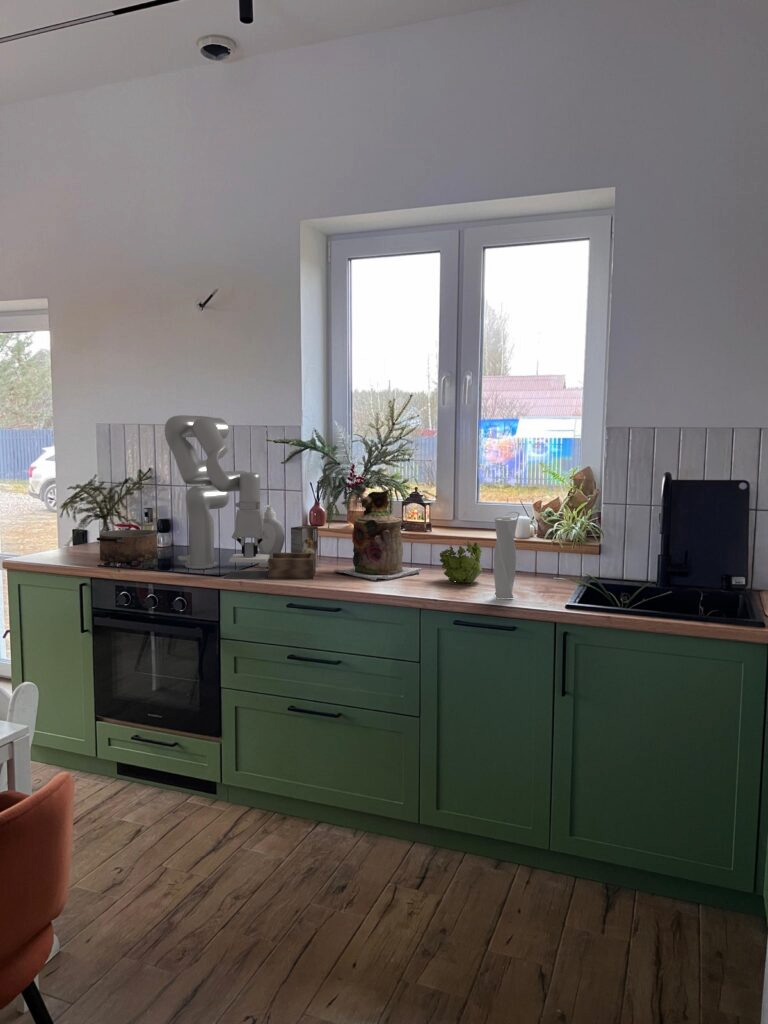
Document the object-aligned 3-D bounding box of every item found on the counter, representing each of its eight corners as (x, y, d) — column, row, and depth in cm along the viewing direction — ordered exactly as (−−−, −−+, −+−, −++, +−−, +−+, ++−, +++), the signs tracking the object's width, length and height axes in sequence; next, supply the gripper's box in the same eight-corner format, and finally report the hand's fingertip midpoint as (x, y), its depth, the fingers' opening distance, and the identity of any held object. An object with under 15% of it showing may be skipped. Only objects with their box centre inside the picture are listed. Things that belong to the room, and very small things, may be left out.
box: (268, 578, 273) (268, 559, 272) (273, 571, 288) (273, 552, 287) (313, 579, 274) (313, 559, 273) (315, 571, 288) (315, 553, 288)
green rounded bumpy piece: (493, 574, 261) (459, 545, 258) (462, 601, 268) (428, 573, 265) (494, 550, 277) (462, 522, 274) (464, 576, 284) (433, 549, 281)
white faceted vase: (514, 595, 251) (516, 510, 248) (519, 600, 243) (521, 513, 241) (490, 594, 251) (492, 510, 248) (494, 599, 243) (496, 512, 240)
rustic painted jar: (376, 565, 304) (377, 486, 301) (423, 574, 287) (425, 489, 284) (331, 573, 286) (331, 488, 283) (378, 582, 269) (379, 492, 266)
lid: (229, 562, 274) (229, 545, 274) (234, 557, 285) (234, 540, 285) (265, 562, 275) (265, 545, 274) (269, 557, 286) (269, 541, 285)
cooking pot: (124, 566, 296) (123, 539, 295) (80, 561, 305) (80, 535, 304) (174, 555, 323) (173, 530, 322) (133, 551, 332) (132, 527, 331)
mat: (223, 578, 273) (223, 577, 273) (231, 571, 288) (231, 570, 288) (265, 578, 273) (265, 577, 273) (270, 571, 288) (270, 570, 288)
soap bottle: (249, 567, 296) (248, 505, 294) (259, 564, 303) (259, 503, 301) (278, 569, 291) (278, 506, 289) (288, 566, 299) (288, 505, 296)
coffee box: (306, 565, 303) (306, 525, 302) (318, 566, 300) (318, 526, 298) (290, 568, 296) (290, 527, 294) (302, 569, 292) (302, 528, 291)
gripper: (225, 507, 274) (225, 557, 276) (271, 507, 274) (270, 558, 276) (229, 505, 281) (229, 554, 283) (273, 505, 282) (273, 554, 284)
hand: (249, 555), depth 280 cm, fingers closed on lid, 3 cm apart
